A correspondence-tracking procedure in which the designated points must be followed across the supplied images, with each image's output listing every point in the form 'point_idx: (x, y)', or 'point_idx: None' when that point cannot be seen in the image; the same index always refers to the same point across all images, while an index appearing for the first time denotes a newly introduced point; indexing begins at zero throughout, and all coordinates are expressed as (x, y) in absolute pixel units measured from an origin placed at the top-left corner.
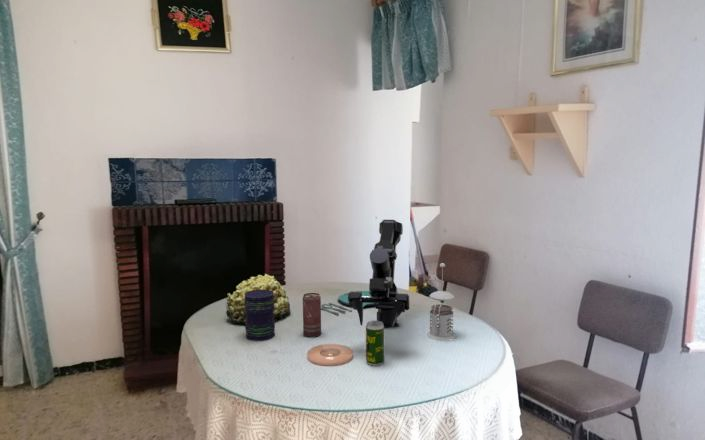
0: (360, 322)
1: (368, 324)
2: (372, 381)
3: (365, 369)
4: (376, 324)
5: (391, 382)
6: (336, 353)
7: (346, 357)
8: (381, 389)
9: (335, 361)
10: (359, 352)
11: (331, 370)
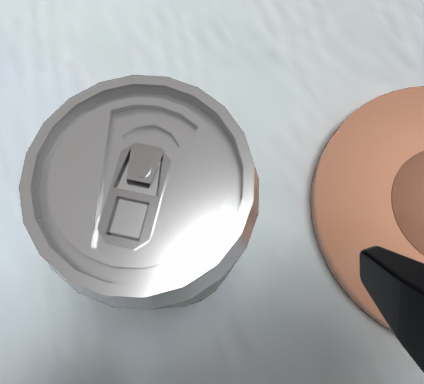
0: (385, 250)
1: (218, 147)
2: (106, 64)
3: None
4: (103, 150)
5: (22, 89)
6: (413, 207)
7: (331, 187)
8: (45, 21)
9: (351, 118)
10: (332, 347)
11: (327, 77)
